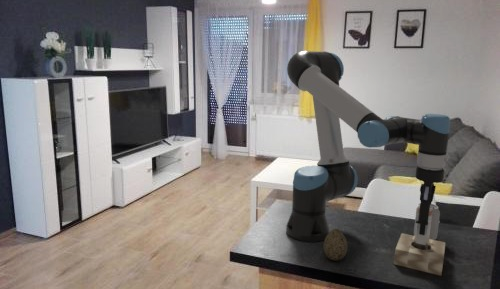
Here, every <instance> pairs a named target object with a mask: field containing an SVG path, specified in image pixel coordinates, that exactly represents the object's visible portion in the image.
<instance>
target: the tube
mask: <svg viewBox="0 0 500 289" xmlns="http://www.w3.org/2000/svg"><path fill="white" fill-rule="evenodd" d="M420 203H421V202H419V203H418V206H417V207H418V214H417V221H418V220H419V212H420ZM431 204H432V203H431ZM431 204H430V210H429V217H428V231H427V239H426V245H422V244H418V243H416V238H417V229H418V223H416V231H415V235H414V236H415V240H414V247H415V248H417V249H422V250H428V244H429V236H430V228H431V220H432V213H433V205H431Z"/></svg>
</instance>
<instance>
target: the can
mask: <svg viewBox="0 0 500 289" xmlns="http://www.w3.org/2000/svg"><path fill="white" fill-rule="evenodd" d="M431 205H433V213H432V220H431V228H430V236H429V239H432V240H437V239H438V231H439V224H440V217H441V216H440V215H441V212H440V210H439V206H438V205H436V204H433V203H431ZM417 214H418V206H417V207H416V211H415V219H414V227H413V236H415V231H416V221H417Z"/></svg>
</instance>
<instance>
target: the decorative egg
mask: <svg viewBox="0 0 500 289" xmlns="http://www.w3.org/2000/svg"><path fill="white" fill-rule="evenodd" d="M323 251H324V254H325V255H326V257H327V258H328V259H329V260H331V261H334V262H336V261H340V260H342V259H343V258H344V257H345V256H346V254H347V252H348V242H347V238H346V237H345V235H344V233H343V232H342V231H341V230H340V229H339V228H338V229H337V228H334V229H332V230H331V231H329V234H328V235H327V236H326V238H325V240H323Z"/></svg>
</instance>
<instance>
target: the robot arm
mask: <svg viewBox="0 0 500 289" xmlns="http://www.w3.org/2000/svg"><path fill="white" fill-rule="evenodd" d="M286 71H287V76H288V79H289V80H290V82H291V83H292V84H293V85H294V87H296V88H298V89H299V90H300V91H301V92H307V93H308V94H310V95H311V96H312V102H313V108H314V117H315V118H314V120H315V125H316V132H317V143H318V148H319V150H318V151H319V158H320V159H318V162H317V163H316V165H307V166H306V165H305V166H302V167H299V168H298V169H296V171H295V172H294V173H293V180H292V208H291V212H290V215H289V217H288V221H287V224H286V229H285V232H286V234H287V235H288V236H289V237H290V238H292V239H294V240H297V241H301V242H309V243H316V242H321V241H324V240H325V238H326V236H327V235H328V234H329V233H330V226H329V222H328V219H327V216H326V215H327V214H326V211H327V210H326V209H327V208H326V207H327V202H330V201H334V200H336V199H341V198H344V197H347V196H348V195H351V194H352V193H353V192H354V191H355V190H356V188H357V186H358V183H359V182H358V178H359V177H358V173H357V171H356V169H354V167H353V166H352V165H351V164H350V159H348V158H347V157H346V156H345V153H344V147H343V146H344V144H343V138H342V137H343V136H342V130H341V128H342V127H341V121H342V122H344V123H345V124H346V125H347V126H348V127H350V128H351V129H352V130H353V131H355V132H356V133H357V134H356V135H357V139H358V140H359V143H360V144H361V145H363V146H364V147H365V148H369V149H370V148H380V147H384V146H388V145H395V144H401V143H404V144H411V145H418V150H417V156H416V165H417V166H416V167H415V168H416V170H415V179H416V180H418V181H420V182H423V183H421V184H420V188H419V192H420V195H419V200H420V202H419V203H420V212H419V220H418V221H416V223H418V229H417V238H416V243H418V244H422V245H426V239H427V231H428V217H429V210H430V204H432V202H433V200H434V196H435V192H436V189H437V188H436V187H437V186H436V185H435V183H436V184H439V183H442V182H443V181H444V177H445V169H444V168H445V167H446V166H445V165H446V162H448V161H449V158H448V157H447V151H448V145H449V137H450V134H451V129H450V126H451V118H450V117H449V115H446V114H439V113H438V114H436V113H424V114H423V115H422V116H421V119H415V118H409V117H401V116H398V115H397V116H392V115H390V116H387V117H385V118H384V119H383V118H381V117H380V116H378V115H377V114H376V113H374V111H372V110H370V109H369V107H367V106H365V105H364V104H363V103H362V102H360V101H359V100H358V99H356V98H355V97H353V95H351V94H350V93H348V92H347V91H346V90H344V89H343V88H342V87H340V81H341V80H342V78H343V77H342V76H344V64H343V62H342V59H341V57H339V56H338V55H337V54H335V53H332V52H329V51H314V50H310V51H309V50H302V51H298V52H297V53H295V54H293V55H292V57H291V58H290V59H289V60H288V62H287V67H286ZM340 120H341V121H340Z"/></svg>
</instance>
